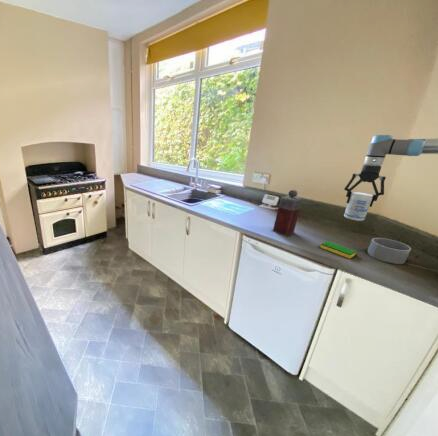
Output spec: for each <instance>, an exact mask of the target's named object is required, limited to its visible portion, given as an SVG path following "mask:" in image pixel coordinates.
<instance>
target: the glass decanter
mask: <svg viewBox="0 0 438 436" xmlns="http://www.w3.org/2000/svg"><path fill="white" fill-rule="evenodd" d="M303 201H304V199H303V197H299V196H298V191H297V190H296V189H290V190H289V191H288V194H287V195H284V196H280V199H279V203H278V208H277V211H276V216H275V220H274V224H273V229H272V231H273V232H275V233H278V234H281V235H284V236H286V237H287V236H289V235H292V234H294V232H295V229H296V227H297V222H298V219H299V214H300V212H301V207H302V203H303Z"/></svg>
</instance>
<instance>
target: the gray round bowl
mask: <svg viewBox="0 0 438 436" xmlns="http://www.w3.org/2000/svg"><path fill="white" fill-rule="evenodd" d="M411 251H412V248H411V246H409V245H408V244H406V243H403V242H401V241H398V240H394V239H390V238H384V237H373V238H371V240H370V243H369V245H368V248H367V254H368V255H369V256H370V257H372V258H374V259H375V260H379V261H381V262H385V263H389V264H395V265H403V264H405V263H406V262H407V260H408V258H409V255H410V253H411Z"/></svg>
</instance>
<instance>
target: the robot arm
mask: <svg viewBox="0 0 438 436" xmlns="http://www.w3.org/2000/svg"><path fill="white" fill-rule="evenodd" d="M387 155H393V156H405V157H406V156H407V157H418V156H420V155H438V138H408V139H397V138H396V139H395V138H393V135H391V134H375V135H373V136H372V139H371V141H370V143H369V146H368V149H367V153H366V156H365V158H364V160H363V161H364V162H363V164H362V168H361V170H360V172H359V173H352V176H351V178H350V180H349V181H348V182H347V184H346V185H345V187H344V189H343V190H344V191H346V195H345V197H346V198H347V200H346V204H348V202H349V199H350V196H351V194H352V193H353V192H352V191H353V190H354V189H355V188H356V187H358V185H360V184H361V183H371V184H372V187H373V191H374V193H375V194H372V195H373V199H372V201H371V204H370V206H369V208H372V207H373V204H374V202H377V201H378V198H379V196H384V195H385V181H386V179H387V177H386V175H385V176H384V175H383V176H382V175H380V173H381V169H382V166H383V165H384V161H385V158H386V157H387ZM356 178H359V179H358V180H357V181H356V182H355V183H354V184H353V185H352V183H353V182H354V180H355V179H356ZM377 179H379V181H380V192H379V190H378V186H377V184H376V180H377ZM351 185H352V186H351Z"/></svg>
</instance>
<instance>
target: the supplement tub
mask: <svg viewBox="0 0 438 436" xmlns="http://www.w3.org/2000/svg"><path fill="white" fill-rule="evenodd" d="M373 195H374V194H370V193H366V192H359V191H358V192H356V191H354V192H352V193H351V196H350V199H349V202H348V203H347V205H346V208H345V211H344V214H343V217H344V218H346V219H348V220H352V221H357V222H363V221H365V219H366V217H367V214H368V212H369V209H370V204H371V201H372V199H373Z"/></svg>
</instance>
